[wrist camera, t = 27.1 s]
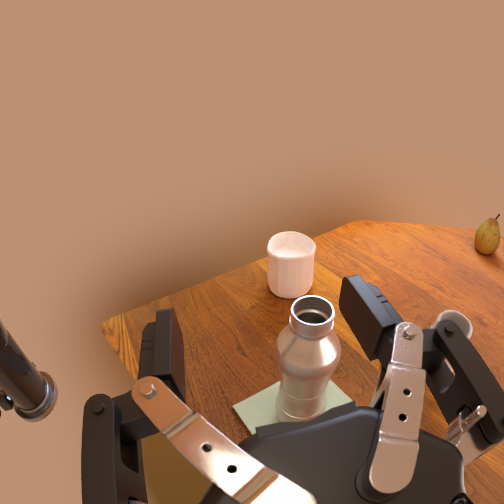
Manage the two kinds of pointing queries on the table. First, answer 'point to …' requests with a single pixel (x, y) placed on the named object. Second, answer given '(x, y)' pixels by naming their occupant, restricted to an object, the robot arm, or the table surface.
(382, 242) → the table surface
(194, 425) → the robot arm
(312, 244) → the cup
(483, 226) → the fruit
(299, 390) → the metal bottle
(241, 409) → the mat
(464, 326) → the mug
